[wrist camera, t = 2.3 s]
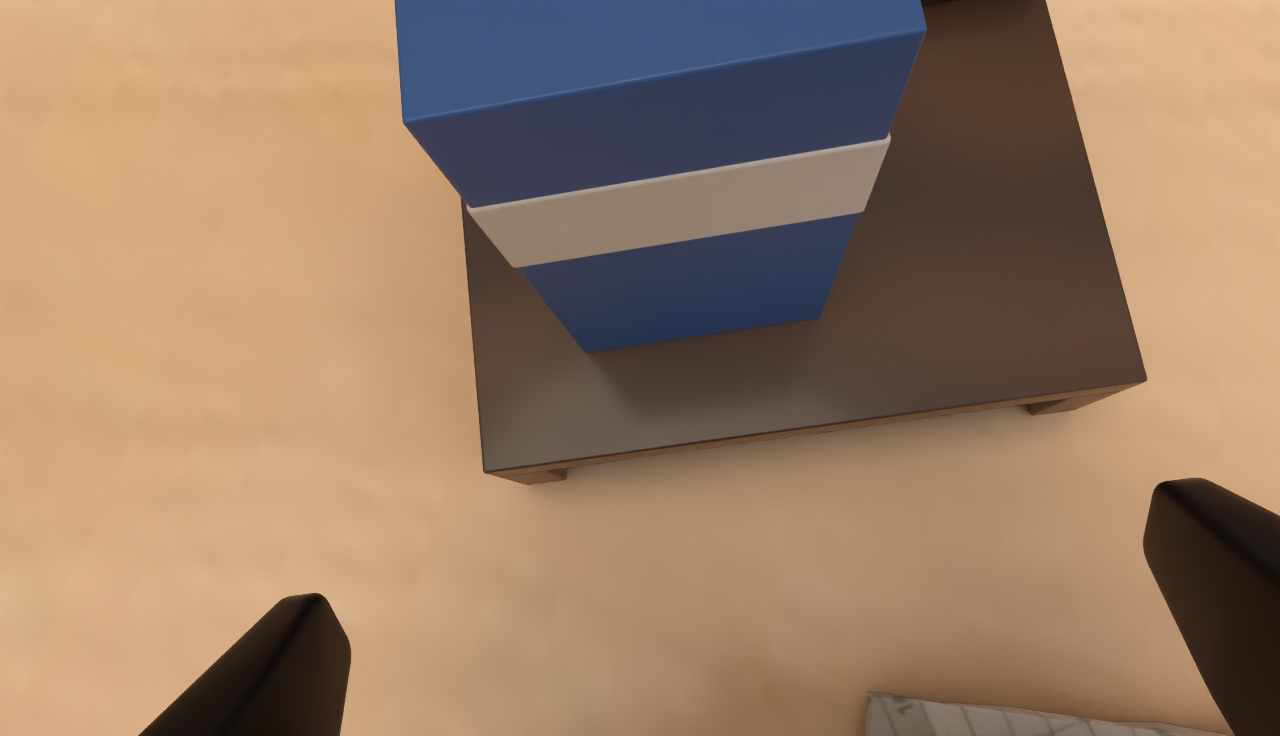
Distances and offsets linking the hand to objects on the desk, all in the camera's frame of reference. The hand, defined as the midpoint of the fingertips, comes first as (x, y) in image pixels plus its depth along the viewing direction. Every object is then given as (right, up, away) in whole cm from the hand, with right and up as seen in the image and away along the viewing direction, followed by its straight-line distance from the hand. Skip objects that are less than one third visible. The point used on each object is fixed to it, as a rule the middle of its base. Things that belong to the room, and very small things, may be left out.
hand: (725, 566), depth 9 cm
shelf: (+3, +5, +15) cm, 16 cm away
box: (0, +6, +11) cm, 12 cm away
